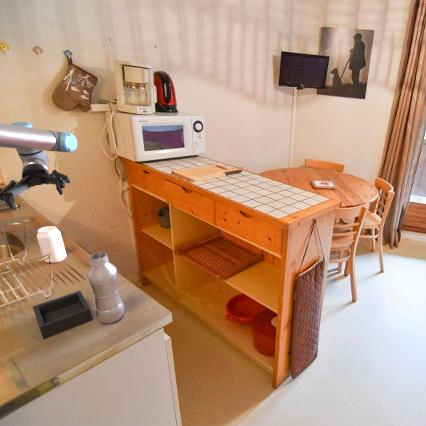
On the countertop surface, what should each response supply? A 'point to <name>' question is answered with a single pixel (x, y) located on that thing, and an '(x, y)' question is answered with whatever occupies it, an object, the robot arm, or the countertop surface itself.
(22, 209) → the countertop surface
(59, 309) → the black tray
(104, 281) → the plastic bottle
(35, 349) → the countertop surface
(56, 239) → the beverage can
